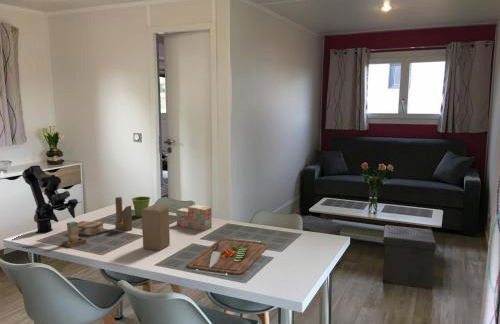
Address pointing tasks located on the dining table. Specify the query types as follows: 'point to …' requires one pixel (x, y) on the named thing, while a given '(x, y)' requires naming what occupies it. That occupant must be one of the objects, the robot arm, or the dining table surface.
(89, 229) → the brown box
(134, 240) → the dining table surface
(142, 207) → the plant pot
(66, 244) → the frame
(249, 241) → the chopping board
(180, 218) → the stack of blocks
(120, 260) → the dining table surface
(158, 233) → the wooden block
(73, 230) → the teal long block
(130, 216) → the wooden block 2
